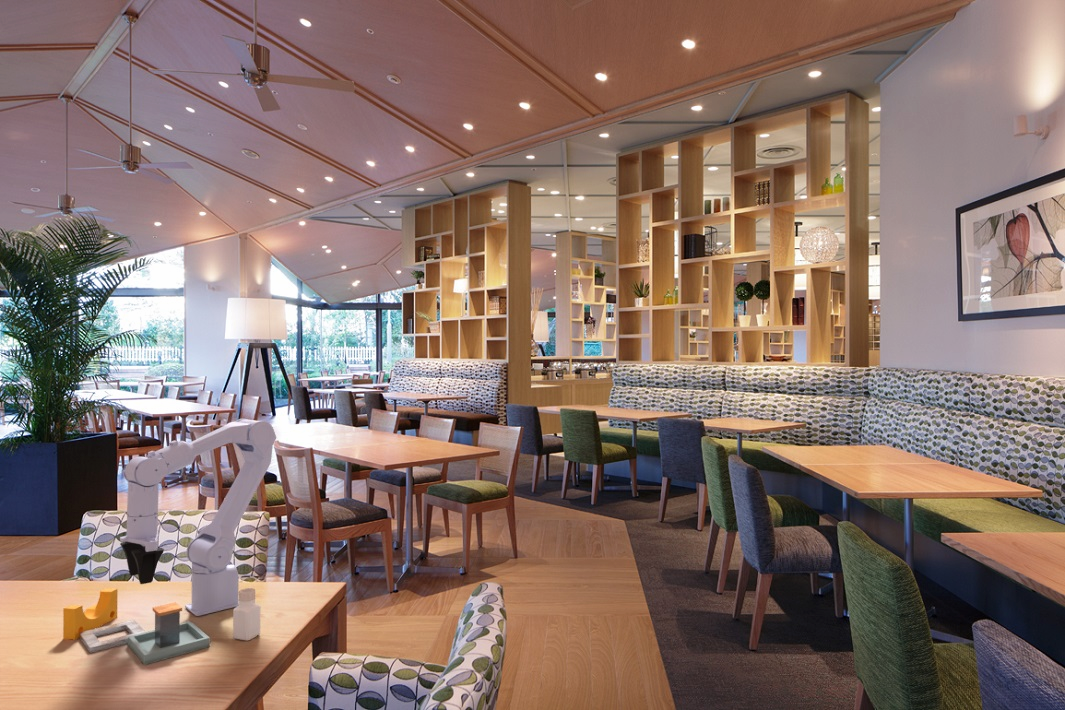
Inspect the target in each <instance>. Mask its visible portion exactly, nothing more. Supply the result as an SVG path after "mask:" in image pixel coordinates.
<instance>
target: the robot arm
mask: <svg viewBox="0 0 1065 710" xmlns="http://www.w3.org/2000/svg"><path fill="white" fill-rule="evenodd" d="M275 441H277V435H276V432H275V429H274V427H273V426H272V423H270V422H268V421H266V420H253V419H247V418H239V419H237V420H235V421H230V422H228V423H226V424H224V425H223V426H220V427H219V428H217V429H214V430H212V431H211V432H209V433H207V434H205V435H203V436H200V437H198V438H197V439H194V440H192V441H190V442H186V441H185V440H179V441H178V440H172V441H170V442H169V445H167V446H165V447H162V448H161V449H157V450H156V451H155V450H151V451H148V452H147V455H146V456H136V457H133V458H132V459H130V460H129V461H128V462H129V463H126V465H125V468H124V469H123V470H122V476H123V477H124V479H125V480H126V481H127V505H126V506H127V507H126V533H125V535H124V536H119V541H120V543H119V544H120V547H121V549H122V550H123V552H124V555H125V558H126V563H127V567H128V568H127V569H128V572H129V575H130V576H131V577H132V576H137V575H138V582H139V584H140V585H145V584H151V583H152V582H153V579H154V576H155V573H156V572H155V571H156V569H157V565H158V563H159V561H160V559H161V557H162V556H163V553H164V551H165V549H164V548H163V547H158V539H159V532H158V524H159V522H158V521H159V519H158V518H159V493H160V492H159V486H160V485H159V484H160V483H161V482H162V480H163V479H164V477H167V476H168V475H171V474H173V473H175V472H178V471H179V470H182V469H184V468H186V467H187V466H190V465H193V463H194V461H195V459H196V457H197V456H200V455H202V454H205V453H208V452H210V451H212V450H215V449H217V448H219V447H222V446H225V445H227V444H235V446H236V447H237V448H238V449H239V451H240V452H241V454H242V457H243V459H244V463H243V465H242V466H241V468H240V469H239V472H238V474H237V476H236V477H235V479H234V482H232V484H231V486H230V487H229V490H228V492H227V494H226V495H225V497H224V498H223V501H222V503H221V504H220V506H219V508H218V510H217V511H216V514H215V515H214V517H213V519H212V521H211V522H210V523H209V524H208V525H206V526H205V527H203V528H201V530H200V531H199V533H198V535H196V537H195V538H193V539H192V540H191V541H190V542H189V543H188V545H187V547H186V551H185V552H186V554H185V555H186V558H187V559H188V561H189V562H190V563H191V602H190V603H189V604H185V605H184V607H185V608H186V609H187V610H188V611H189V612H191V614H192V615H194V616H196V617H200V616H205V615H209V614H212V613H216V612H220V611H223V610H229V609H232V608H233V609H234V608H236V607H237V606H239V585H240V584H239V572H238V569H237V567H236V565H235V564H233V563H232V564H230V563H231V560H232V558H233V550H234V548H235V545H236V543H237V539H236V536H235V530H236V529H237V527H238V525H239V523H240V521H241V519H242V518H243V516H244V514H245V512H246V510H247V508H248V506H249V504H250V502H252V499H253V497H254V495H255V494H256V491H257V490H258V488H259V486H260V484H261V483H262V481H263V479H264V476H265V475H266V474H267V473H266V472H267V471H268V470H269V468H270V465H271V463H272V457H273V455H272V454H273V445H274V444H275Z"/></svg>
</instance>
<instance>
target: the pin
mask: <svg viewBox="0 0 1065 710" xmlns="http://www.w3.org/2000/svg"><path fill="white" fill-rule="evenodd" d="M152 612H154V630H155V643H156V644H157V645H158V646H159V648H163V647H167V646H171V645H174V644H178V643H180V624H181V618H180V616H181V614H180V613H181V612H183V607H182V606H180V605H179V604H178V603H177V602H176V601H175V602H171V603H166V604H163V605H157V606H154V607H152Z"/></svg>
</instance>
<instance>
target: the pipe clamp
mask: <svg viewBox="0 0 1065 710" xmlns="http://www.w3.org/2000/svg"><path fill="white" fill-rule="evenodd" d="M62 613H63V616H62V618H63V619H62V620H63V624H62V625H63V627H62V628H63V629H62V630H63V631H62V634H63V636H62V638H63V640H69V639H73V640H74V641H76V640H78V639H80V638H79V632H84V631H88V630H92V629H95V628H97V627H98V628H100V627H102V626H104V625H106V624H108V623H109V621H110V622H111V621H113V620H115V619H117V618H118V588H107V587H106V588H103V590H100V591H99V597H98V601H97V603H95V604H93V605H91V606H90V607H87V608H86V609H85V611H84V609H83V605H78V604H70V605H68V606H65V607H64V608H63V609H62ZM107 622H108V623H107ZM105 623H106V624H105ZM103 624H104V625H103ZM101 625H102V626H101ZM99 626H100V627H99ZM77 638H78V639H77ZM75 639H76V640H75ZM73 640H72V641H73Z"/></svg>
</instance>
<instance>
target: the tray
mask: <svg viewBox="0 0 1065 710" xmlns="http://www.w3.org/2000/svg"><path fill="white" fill-rule="evenodd" d="M127 646H128V647H129V649H130V650H131V651H132V652H133V654H135V655H136V657H137V658H138V659H139V660H140V661H141V662H142V664H143V665H148V664H153V663H157V662H160V661H164V660H166V659H172V658H174V657H177V656H181V655H182V656H183V655H185V654H188V653H193V652H197V651H200V650H203V649H206V648H210V647H211V637H210V636H208V635H207V634H206V633H205V632H204V631H203V630H201V629H200V628H199V626H197V625H196V624H195V623H193V622H192V621H191V620H189V621H185V622H182V623H181V622H180V643H178V644H174V645H171V646H167V647H163V648H159V646H158V645H157V644H156V643H155V629H153V630H150V631H146V632H144V633H140V634H136V635H132V636H128V643H127Z"/></svg>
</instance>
